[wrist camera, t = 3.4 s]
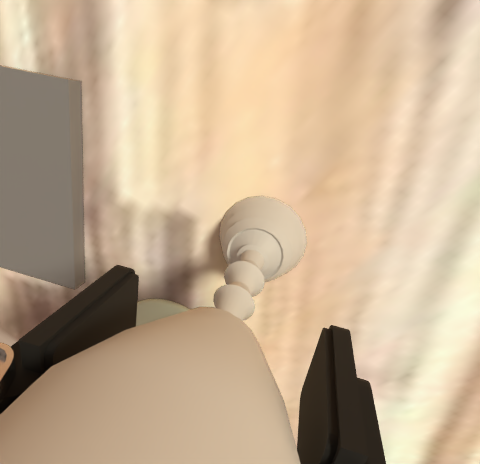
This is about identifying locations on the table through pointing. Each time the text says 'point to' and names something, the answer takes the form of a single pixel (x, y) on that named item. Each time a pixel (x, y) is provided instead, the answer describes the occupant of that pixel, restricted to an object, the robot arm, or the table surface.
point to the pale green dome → (156, 310)
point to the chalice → (173, 374)
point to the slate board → (41, 176)
